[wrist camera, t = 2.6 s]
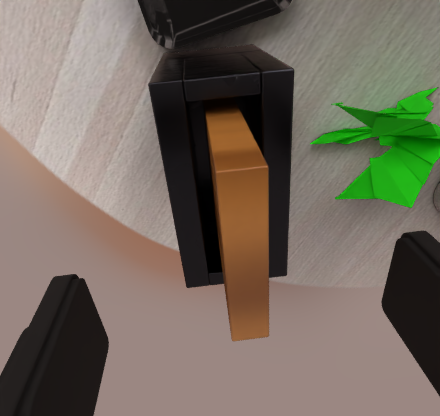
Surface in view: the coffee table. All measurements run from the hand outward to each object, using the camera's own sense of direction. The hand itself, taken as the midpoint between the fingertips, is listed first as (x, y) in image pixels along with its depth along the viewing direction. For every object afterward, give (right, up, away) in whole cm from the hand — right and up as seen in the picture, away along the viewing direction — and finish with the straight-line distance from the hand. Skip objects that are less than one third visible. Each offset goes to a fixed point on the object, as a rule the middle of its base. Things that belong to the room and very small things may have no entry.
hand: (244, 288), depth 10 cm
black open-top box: (-1, +7, +11) cm, 14 cm away
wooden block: (-1, +6, +9) cm, 11 cm away
